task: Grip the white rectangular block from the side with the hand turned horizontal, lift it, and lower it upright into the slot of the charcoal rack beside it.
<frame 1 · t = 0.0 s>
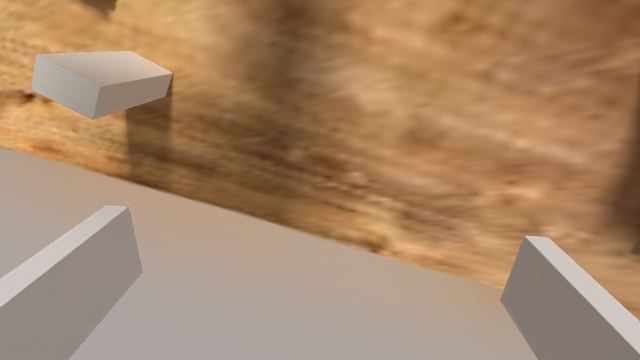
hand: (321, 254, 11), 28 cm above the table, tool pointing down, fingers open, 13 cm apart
white rectangular block: (148, 74, 36), on the table
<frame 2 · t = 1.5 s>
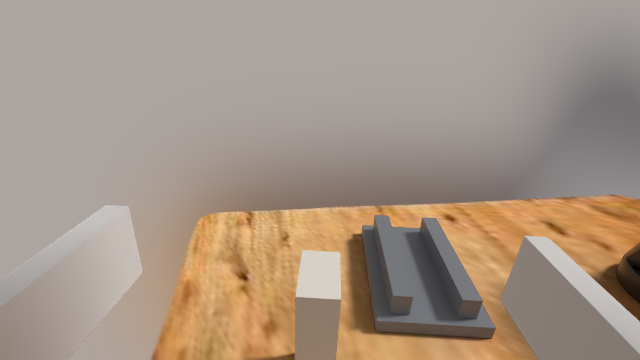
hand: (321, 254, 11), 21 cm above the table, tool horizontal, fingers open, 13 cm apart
rack: (413, 275, 41), on the table
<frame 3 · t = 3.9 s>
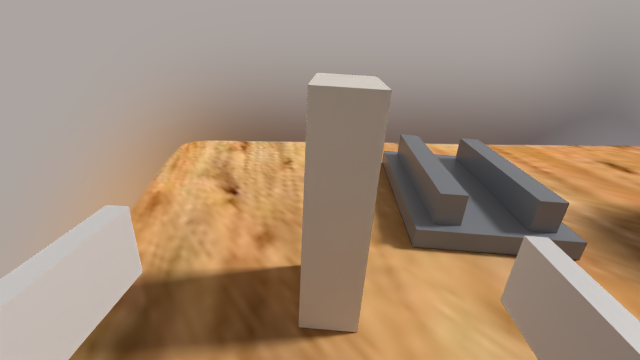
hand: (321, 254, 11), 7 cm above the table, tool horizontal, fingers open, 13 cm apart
white rectangular block: (329, 294, 18), on the table
rack: (454, 197, 31), on the table
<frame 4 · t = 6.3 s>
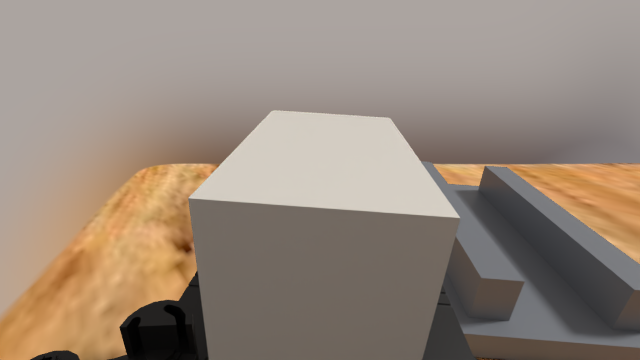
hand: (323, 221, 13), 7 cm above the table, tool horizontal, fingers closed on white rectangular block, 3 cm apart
rack: (483, 251, 23), on the table
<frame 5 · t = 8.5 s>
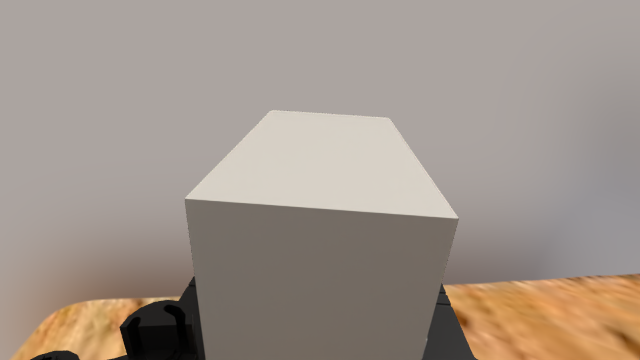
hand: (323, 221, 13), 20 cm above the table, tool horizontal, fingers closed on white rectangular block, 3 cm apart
when the fingers open (10 cm above the table, at t = 11.1 s): white rectangular block drops 1 cm, resting on rack.
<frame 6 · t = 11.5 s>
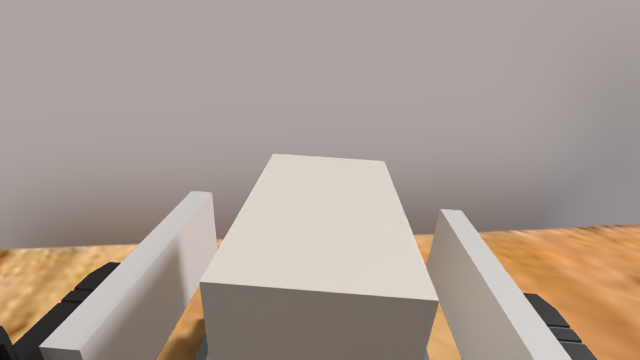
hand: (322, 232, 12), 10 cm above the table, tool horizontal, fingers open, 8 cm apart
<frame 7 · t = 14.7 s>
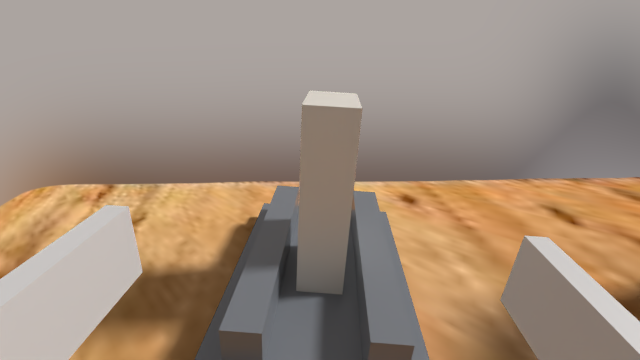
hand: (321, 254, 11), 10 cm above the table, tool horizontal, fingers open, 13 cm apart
white rectangular block: (320, 267, 23), point 1 cm above the table, touching rack
rack: (319, 283, 23), on the table
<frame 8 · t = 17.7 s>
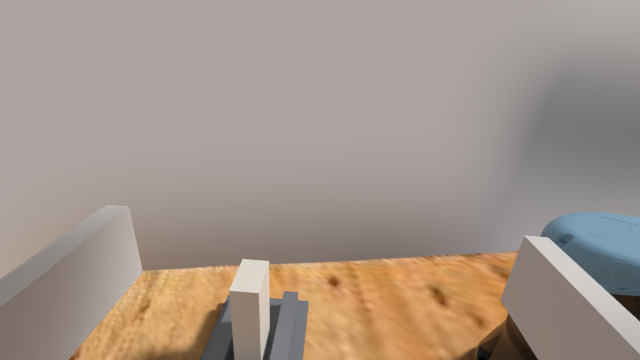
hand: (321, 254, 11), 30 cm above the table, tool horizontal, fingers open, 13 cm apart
white rectangular block: (253, 352, 38), point 1 cm above the table, touching rack
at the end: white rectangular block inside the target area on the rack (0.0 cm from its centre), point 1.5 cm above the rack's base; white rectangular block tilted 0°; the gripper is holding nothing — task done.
